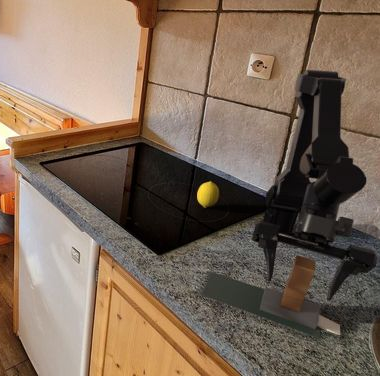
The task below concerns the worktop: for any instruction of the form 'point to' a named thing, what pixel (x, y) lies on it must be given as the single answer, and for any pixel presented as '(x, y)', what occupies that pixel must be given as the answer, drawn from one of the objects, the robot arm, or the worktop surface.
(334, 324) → the pale pink flat block
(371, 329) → the worktop surface
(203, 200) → the lemon
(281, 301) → the duster
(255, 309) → the board
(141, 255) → the worktop surface
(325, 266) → the worktop surface
